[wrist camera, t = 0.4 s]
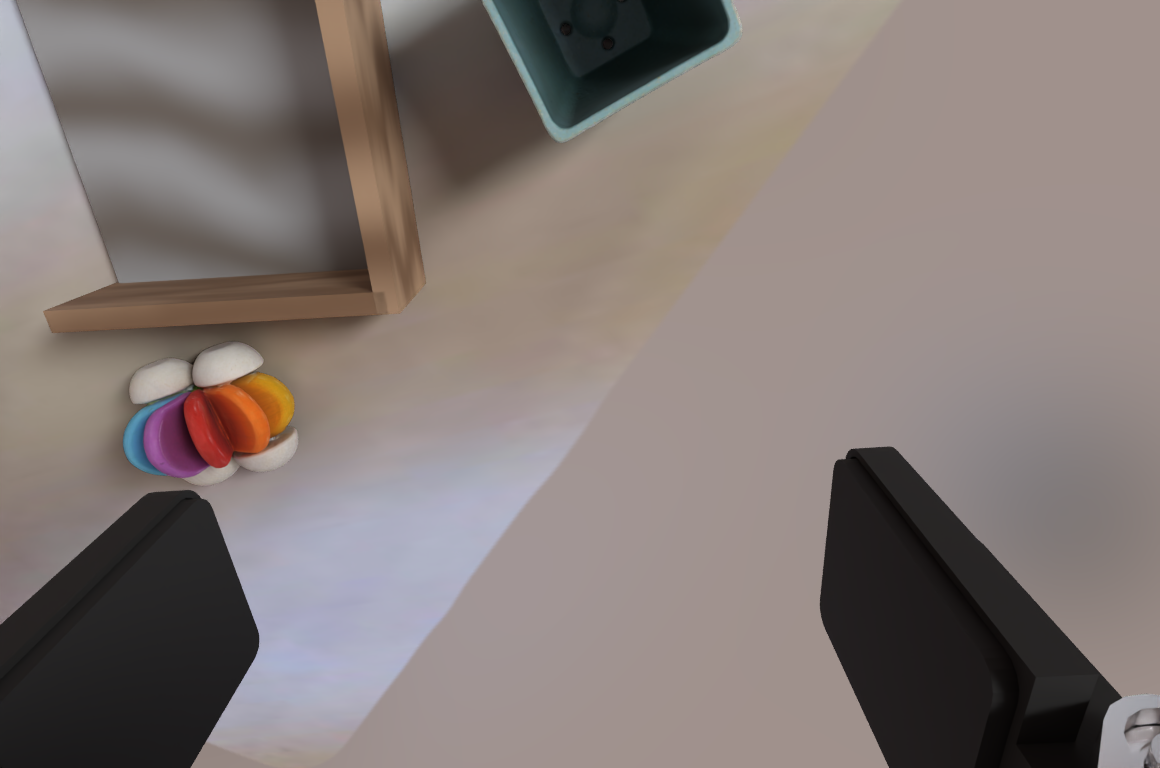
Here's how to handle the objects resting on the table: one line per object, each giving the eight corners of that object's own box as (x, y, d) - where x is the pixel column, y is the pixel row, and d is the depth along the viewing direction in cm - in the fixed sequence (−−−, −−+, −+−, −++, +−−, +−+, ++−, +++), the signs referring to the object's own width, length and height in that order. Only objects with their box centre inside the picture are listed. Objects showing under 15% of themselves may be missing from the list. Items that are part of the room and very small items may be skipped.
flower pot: (708, 53, 33) (749, 37, 25) (561, 137, 35) (555, 148, 27) (634, -130, 30) (654, -215, 22) (478, -27, 32) (442, -72, 24)
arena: (-11, -76, 31) (-137, -114, 26) (363, -104, 31) (315, -148, 25) (126, 300, 39) (52, 333, 34) (425, 283, 38) (400, 313, 33)
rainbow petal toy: (327, 440, 43) (281, 501, 36) (199, 470, 44) (131, 535, 38) (272, 325, 40) (210, 370, 33) (135, 361, 41) (48, 411, 34)
